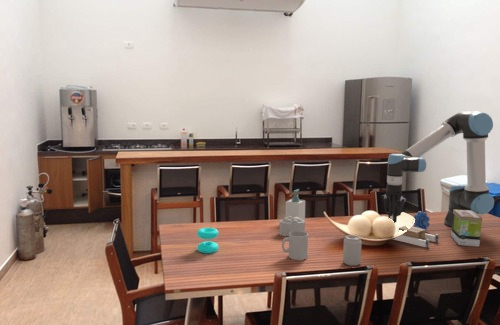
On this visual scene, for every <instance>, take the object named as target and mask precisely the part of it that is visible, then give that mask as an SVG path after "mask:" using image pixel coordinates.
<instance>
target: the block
mask: <svg viewBox="0 0 500 325" xmlns="http://www.w3.org/2000/svg"><path fill="white" fill-rule="evenodd" d="M411 226H412V225H411ZM399 230H402V231H404V230H407V232H405V233H404V234H403V235H404V236H409V237H413V238H417V239H422V240H425V233H426V231H425V229H421V228H417V227H414V225H413V226H412V227H411V228H410V229H408V228H407V227H406V225H404V226H400V227H398V231H399Z"/></svg>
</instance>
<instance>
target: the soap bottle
mask: <svg viewBox="0 0 500 325" xmlns="http://www.w3.org/2000/svg"><path fill="white" fill-rule="evenodd" d="M299 191H300V188H297V189H294V190H293V193H294V195H293V196H292V198H290V199H288V200H286V201H285V210H284V211H285V215H284V218H286V217H288V216H291V217H292V218H293V217H299V218H301V219H302V220H304V221H305V222H306V200H305V199H300V198H299V196H298V192H299Z"/></svg>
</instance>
